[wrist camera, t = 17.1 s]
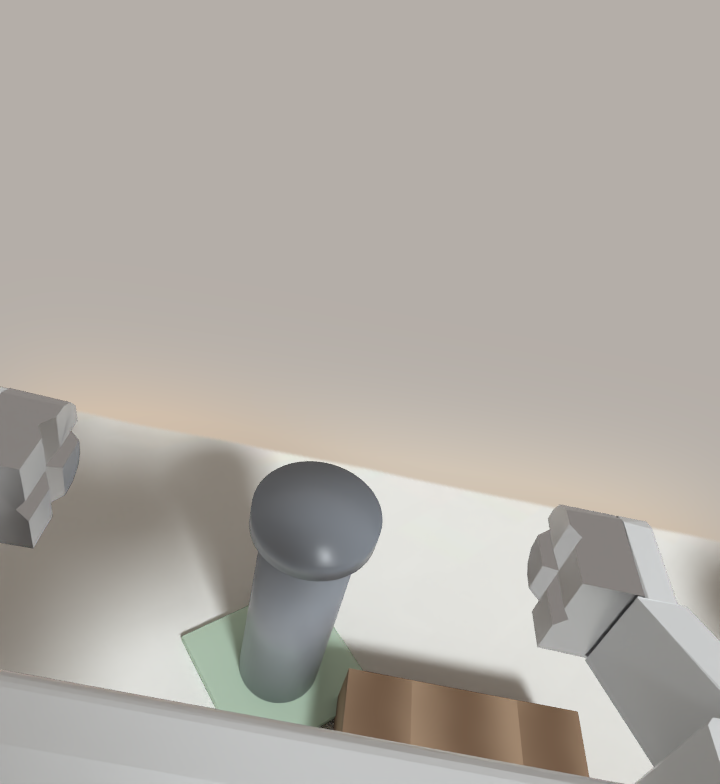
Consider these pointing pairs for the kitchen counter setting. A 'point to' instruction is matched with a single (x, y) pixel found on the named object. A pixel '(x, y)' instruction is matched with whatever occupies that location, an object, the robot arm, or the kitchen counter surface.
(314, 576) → the grey capped peg
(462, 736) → the socket block
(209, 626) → the mat
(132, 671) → the kitchen counter surface
